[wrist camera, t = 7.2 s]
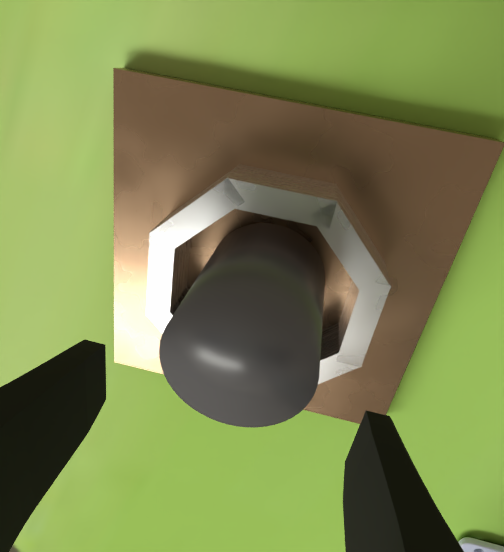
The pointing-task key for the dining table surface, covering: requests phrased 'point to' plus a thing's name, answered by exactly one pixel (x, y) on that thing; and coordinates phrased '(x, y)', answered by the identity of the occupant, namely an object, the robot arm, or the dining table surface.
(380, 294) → the octagonal socket plate
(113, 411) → the dining table surface
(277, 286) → the dark grey cylinder peg
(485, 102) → the dining table surface
